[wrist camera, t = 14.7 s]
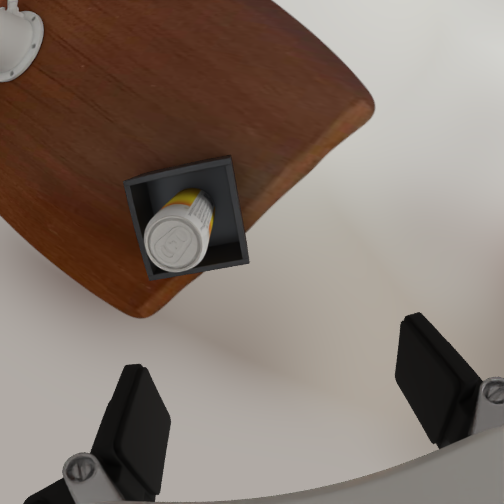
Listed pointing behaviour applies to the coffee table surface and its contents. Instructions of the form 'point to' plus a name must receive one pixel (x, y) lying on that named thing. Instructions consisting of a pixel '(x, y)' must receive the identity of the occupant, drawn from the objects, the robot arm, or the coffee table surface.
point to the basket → (210, 181)
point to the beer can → (180, 231)
